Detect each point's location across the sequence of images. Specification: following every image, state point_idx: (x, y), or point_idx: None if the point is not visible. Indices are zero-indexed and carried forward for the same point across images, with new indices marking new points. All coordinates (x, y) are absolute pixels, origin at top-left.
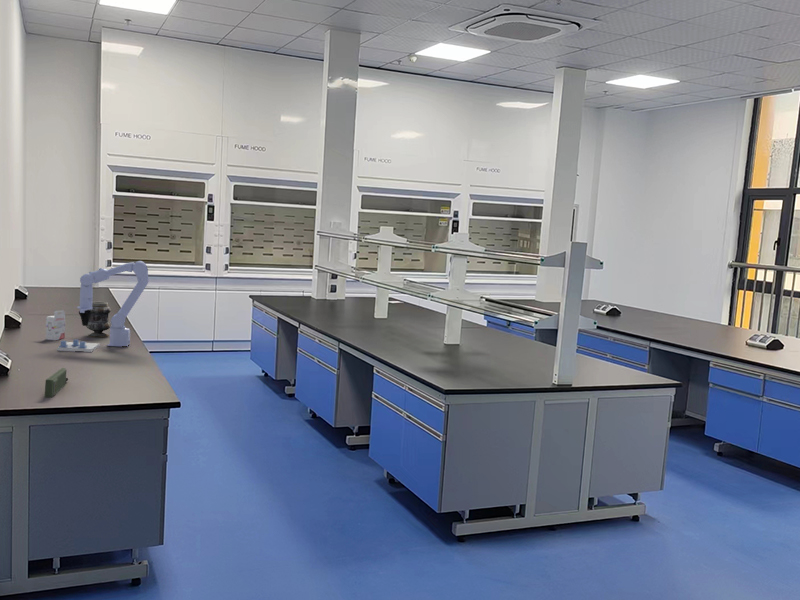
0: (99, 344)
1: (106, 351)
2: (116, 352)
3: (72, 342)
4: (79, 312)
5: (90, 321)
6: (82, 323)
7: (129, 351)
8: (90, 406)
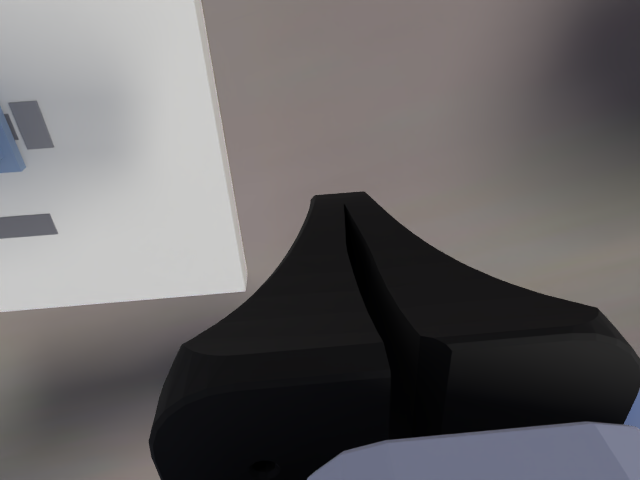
0: (237, 287)
1: (50, 371)
2: (55, 426)
3: (173, 6)
4: (163, 397)
5: None
6: (308, 214)
7: (144, 467)
8: None
